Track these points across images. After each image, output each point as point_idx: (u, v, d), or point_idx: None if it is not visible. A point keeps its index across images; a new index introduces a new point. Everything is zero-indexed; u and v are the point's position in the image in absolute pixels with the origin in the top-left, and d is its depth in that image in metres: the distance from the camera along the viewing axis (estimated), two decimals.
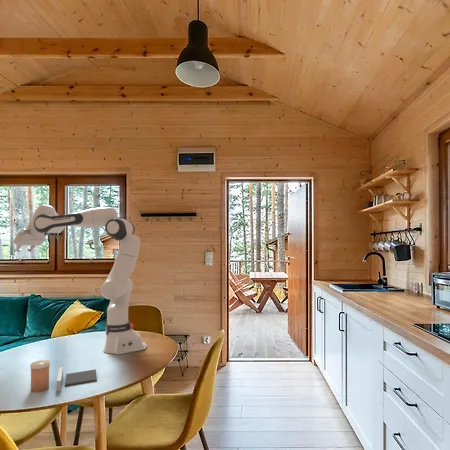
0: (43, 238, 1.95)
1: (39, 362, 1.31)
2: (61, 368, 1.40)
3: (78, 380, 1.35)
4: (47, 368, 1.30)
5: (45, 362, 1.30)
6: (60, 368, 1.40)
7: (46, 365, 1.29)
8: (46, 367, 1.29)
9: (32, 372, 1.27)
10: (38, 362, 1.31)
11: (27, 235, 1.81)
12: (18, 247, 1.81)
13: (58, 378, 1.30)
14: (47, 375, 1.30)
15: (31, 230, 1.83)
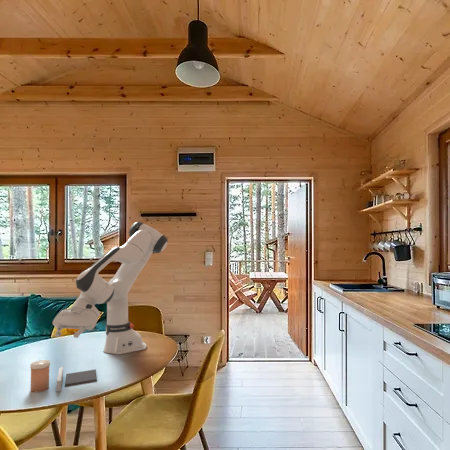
0: (90, 315, 1.46)
1: (39, 362, 1.31)
2: (61, 368, 1.40)
3: (78, 380, 1.35)
4: (47, 368, 1.30)
5: (45, 362, 1.30)
6: (60, 368, 1.40)
7: (46, 365, 1.29)
8: (46, 367, 1.29)
9: (32, 372, 1.27)
10: (38, 362, 1.31)
11: (65, 311, 1.51)
12: None
13: (58, 378, 1.30)
14: (47, 375, 1.30)
15: None
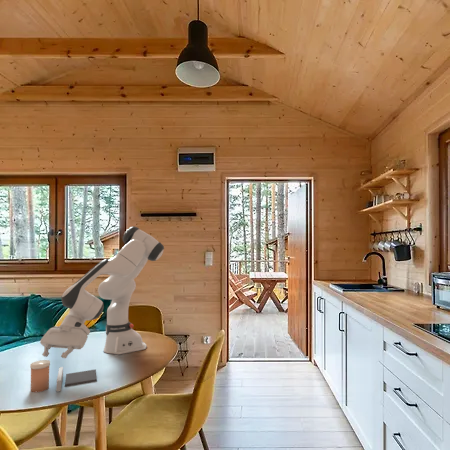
0: (79, 334, 1.39)
1: (39, 362, 1.31)
2: (61, 368, 1.40)
3: (78, 380, 1.35)
4: (47, 368, 1.30)
5: (45, 362, 1.30)
6: (60, 368, 1.40)
7: (46, 365, 1.29)
8: (46, 367, 1.29)
9: (32, 372, 1.27)
10: (38, 362, 1.31)
11: (53, 330, 1.44)
12: None
13: (58, 378, 1.30)
14: (47, 375, 1.30)
15: None
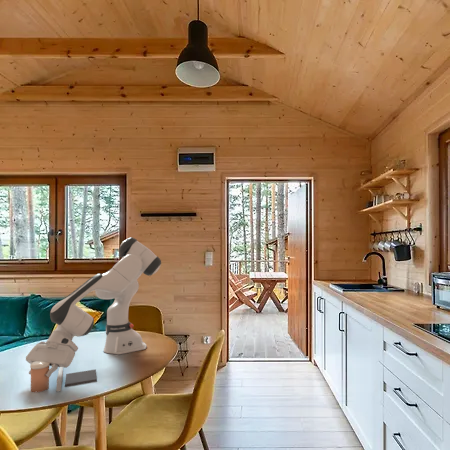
0: (65, 351, 1.33)
1: (39, 362, 1.31)
2: (61, 368, 1.40)
3: (78, 380, 1.35)
4: (47, 368, 1.30)
5: (45, 362, 1.30)
6: (60, 368, 1.40)
7: (46, 365, 1.29)
8: (46, 367, 1.29)
9: (32, 372, 1.27)
10: (38, 362, 1.31)
11: (40, 346, 1.38)
12: None
13: (58, 378, 1.30)
14: None
15: None
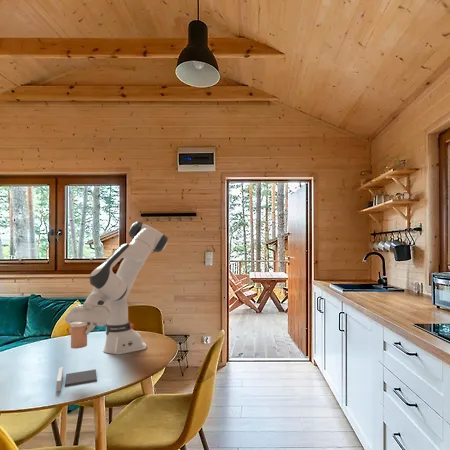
0: (102, 311, 1.43)
1: (78, 322, 1.41)
2: (61, 368, 1.40)
3: (78, 380, 1.35)
4: (85, 327, 1.40)
5: (83, 322, 1.41)
6: (60, 368, 1.40)
7: (85, 324, 1.39)
8: (84, 325, 1.39)
9: (72, 330, 1.38)
10: (77, 322, 1.41)
11: (77, 308, 1.48)
12: None
13: (58, 378, 1.30)
14: None
15: None
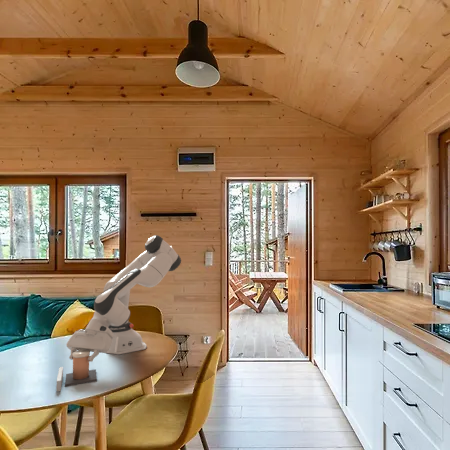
0: (104, 338, 1.43)
1: (80, 352, 1.40)
2: (61, 368, 1.40)
3: (78, 380, 1.35)
4: (88, 357, 1.39)
5: (85, 352, 1.40)
6: (60, 368, 1.40)
7: (87, 354, 1.39)
8: (87, 356, 1.39)
9: (74, 361, 1.37)
10: (79, 352, 1.41)
11: (78, 333, 1.48)
12: None
13: (58, 378, 1.30)
14: (88, 364, 1.39)
15: None
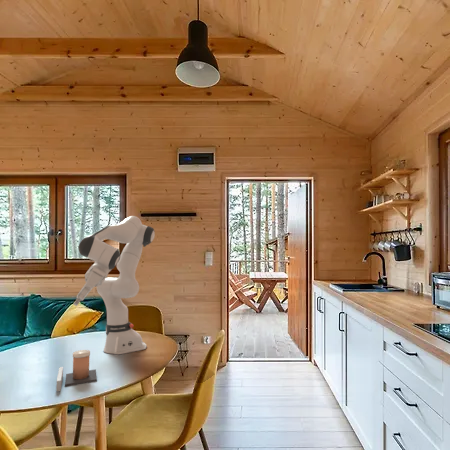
0: None
1: (80, 352, 1.40)
2: (61, 368, 1.40)
3: (78, 380, 1.35)
4: (88, 357, 1.40)
5: (85, 352, 1.40)
6: (60, 368, 1.40)
7: (87, 354, 1.39)
8: (87, 356, 1.39)
9: (74, 361, 1.37)
10: (79, 351, 1.41)
11: None
12: None
13: (58, 378, 1.30)
14: (88, 364, 1.39)
15: None
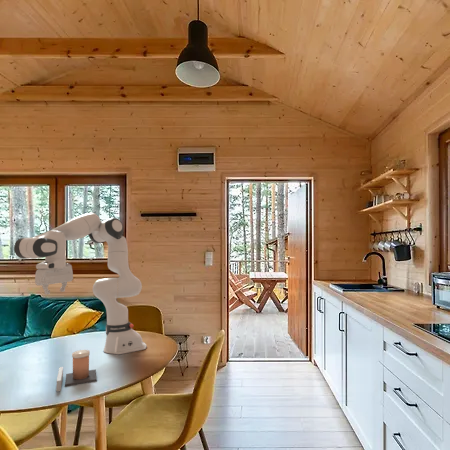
0: None
1: (79, 352, 1.40)
2: (61, 368, 1.40)
3: (78, 380, 1.35)
4: (88, 357, 1.39)
5: (85, 352, 1.40)
6: (60, 368, 1.40)
7: (87, 354, 1.39)
8: (87, 356, 1.39)
9: (74, 361, 1.37)
10: (78, 352, 1.40)
11: None
12: None
13: (58, 378, 1.30)
14: (88, 363, 1.39)
15: None
